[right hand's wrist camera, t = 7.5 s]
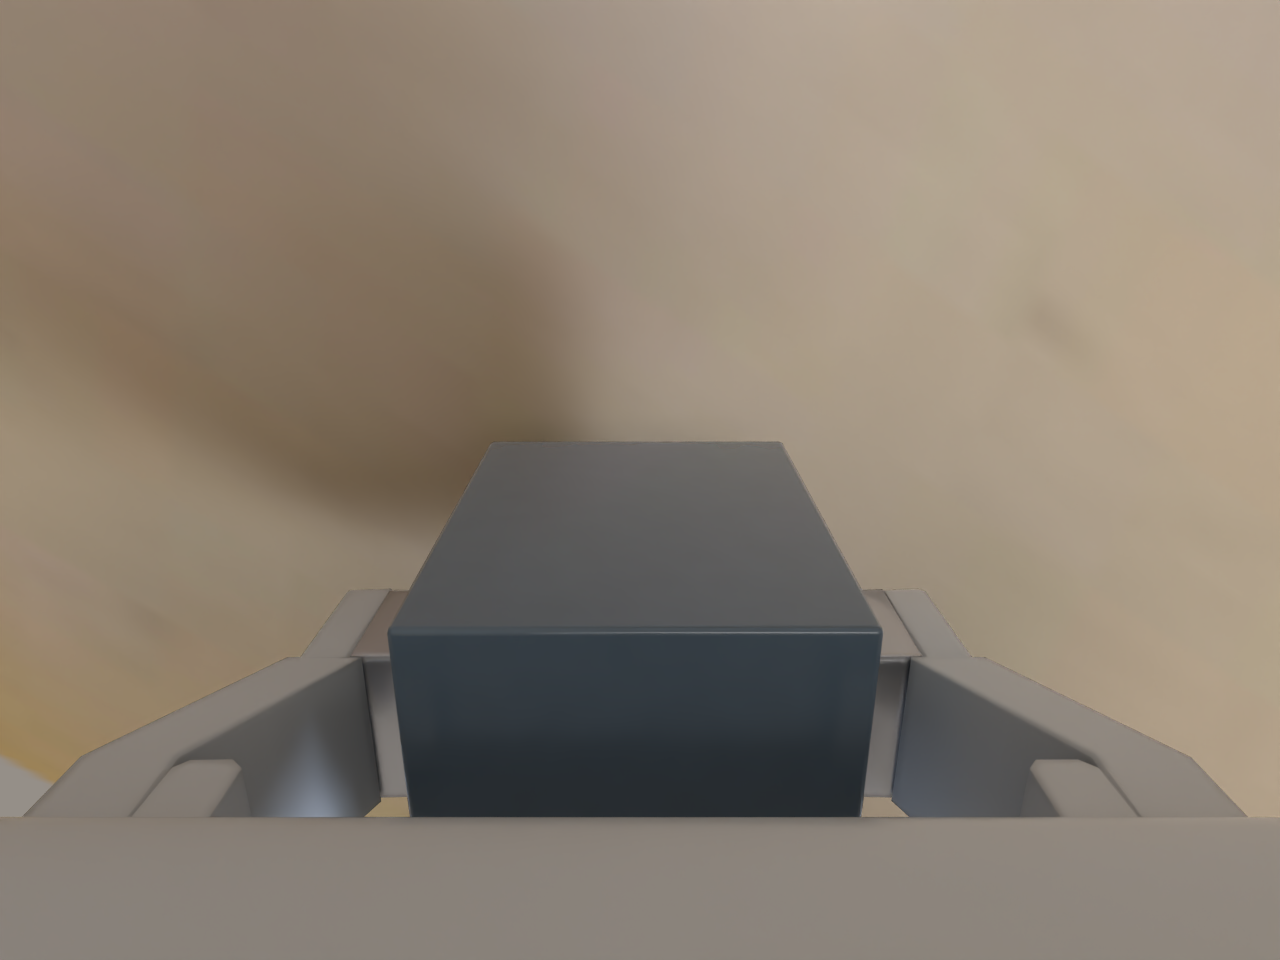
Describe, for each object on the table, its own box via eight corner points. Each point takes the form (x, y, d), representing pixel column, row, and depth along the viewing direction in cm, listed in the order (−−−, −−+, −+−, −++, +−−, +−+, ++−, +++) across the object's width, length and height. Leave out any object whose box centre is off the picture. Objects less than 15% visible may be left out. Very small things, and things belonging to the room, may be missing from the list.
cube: (489, 440, 11) (384, 629, 6) (782, 440, 11) (886, 628, 6) (507, 693, 12) (429, 997, 8) (766, 693, 12) (841, 996, 8)
